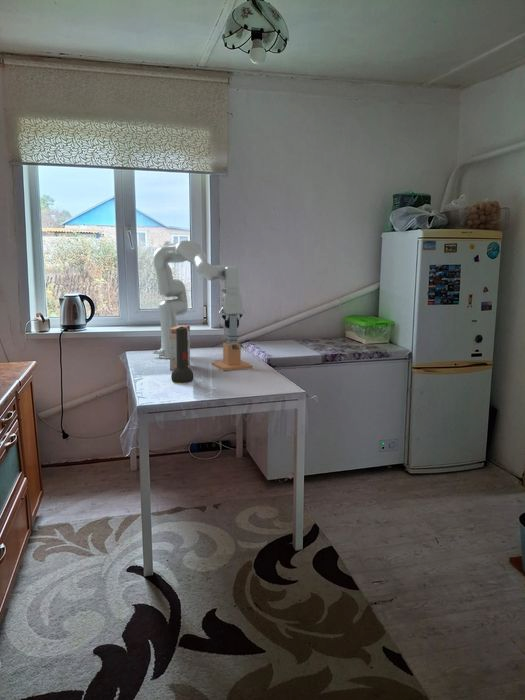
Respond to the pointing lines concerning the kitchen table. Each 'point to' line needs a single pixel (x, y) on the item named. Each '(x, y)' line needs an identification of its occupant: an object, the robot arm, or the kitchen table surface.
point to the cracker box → (173, 346)
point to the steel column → (232, 330)
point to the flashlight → (182, 358)
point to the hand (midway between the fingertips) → (231, 327)
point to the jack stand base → (231, 358)
